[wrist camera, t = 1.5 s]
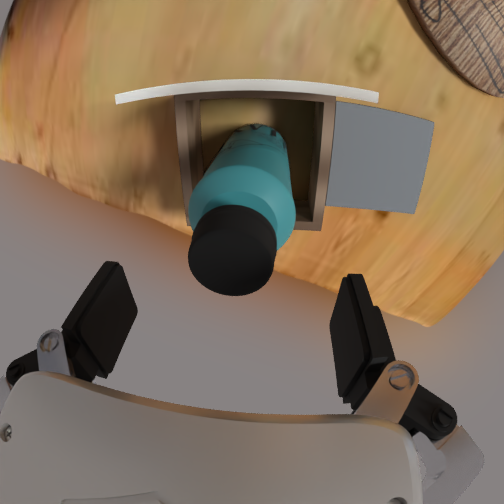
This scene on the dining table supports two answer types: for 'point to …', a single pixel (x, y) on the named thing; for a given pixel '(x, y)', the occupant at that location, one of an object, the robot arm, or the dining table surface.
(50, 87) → the dining table surface
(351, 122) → the slate mat
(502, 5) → the trivet
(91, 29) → the dining table surface
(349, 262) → the dining table surface
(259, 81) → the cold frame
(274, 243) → the beverage bottle
